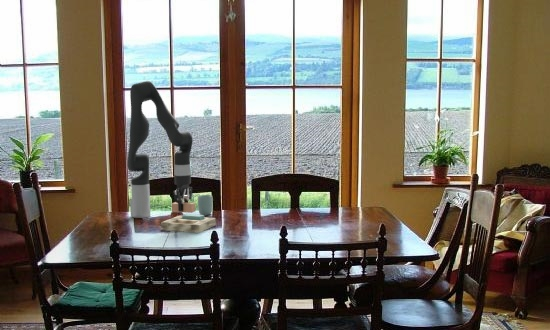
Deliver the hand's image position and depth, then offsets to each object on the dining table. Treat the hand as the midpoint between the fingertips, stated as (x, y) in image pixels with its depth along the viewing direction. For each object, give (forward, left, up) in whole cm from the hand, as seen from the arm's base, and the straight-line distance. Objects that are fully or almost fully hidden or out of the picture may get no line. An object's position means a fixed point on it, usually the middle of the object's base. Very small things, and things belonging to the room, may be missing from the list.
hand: (183, 210), depth 256 cm
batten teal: (0, +9, -8) cm, 12 cm away
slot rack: (0, +5, -9) cm, 10 cm away
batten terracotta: (0, 0, -1) cm, 1 cm away
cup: (-7, +35, -9) cm, 37 cm away
